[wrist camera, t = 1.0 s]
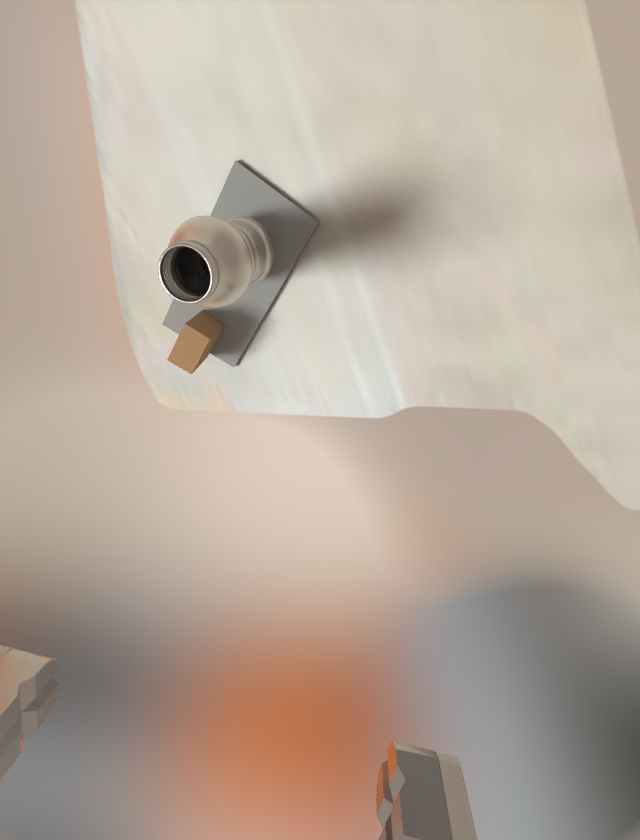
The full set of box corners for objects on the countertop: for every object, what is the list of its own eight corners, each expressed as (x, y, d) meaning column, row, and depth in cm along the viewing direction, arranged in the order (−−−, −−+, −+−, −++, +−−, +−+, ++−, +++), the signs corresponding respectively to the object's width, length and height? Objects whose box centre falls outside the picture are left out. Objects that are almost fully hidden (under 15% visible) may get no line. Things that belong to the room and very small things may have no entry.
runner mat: (236, 160, 39) (217, 153, 33) (318, 222, 41) (314, 225, 35) (162, 326, 48) (137, 343, 42) (233, 368, 50) (218, 390, 44)
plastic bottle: (216, 274, 43) (134, 315, 26) (222, 208, 40) (134, 203, 23) (271, 288, 44) (229, 337, 26) (282, 224, 41) (241, 231, 23)
